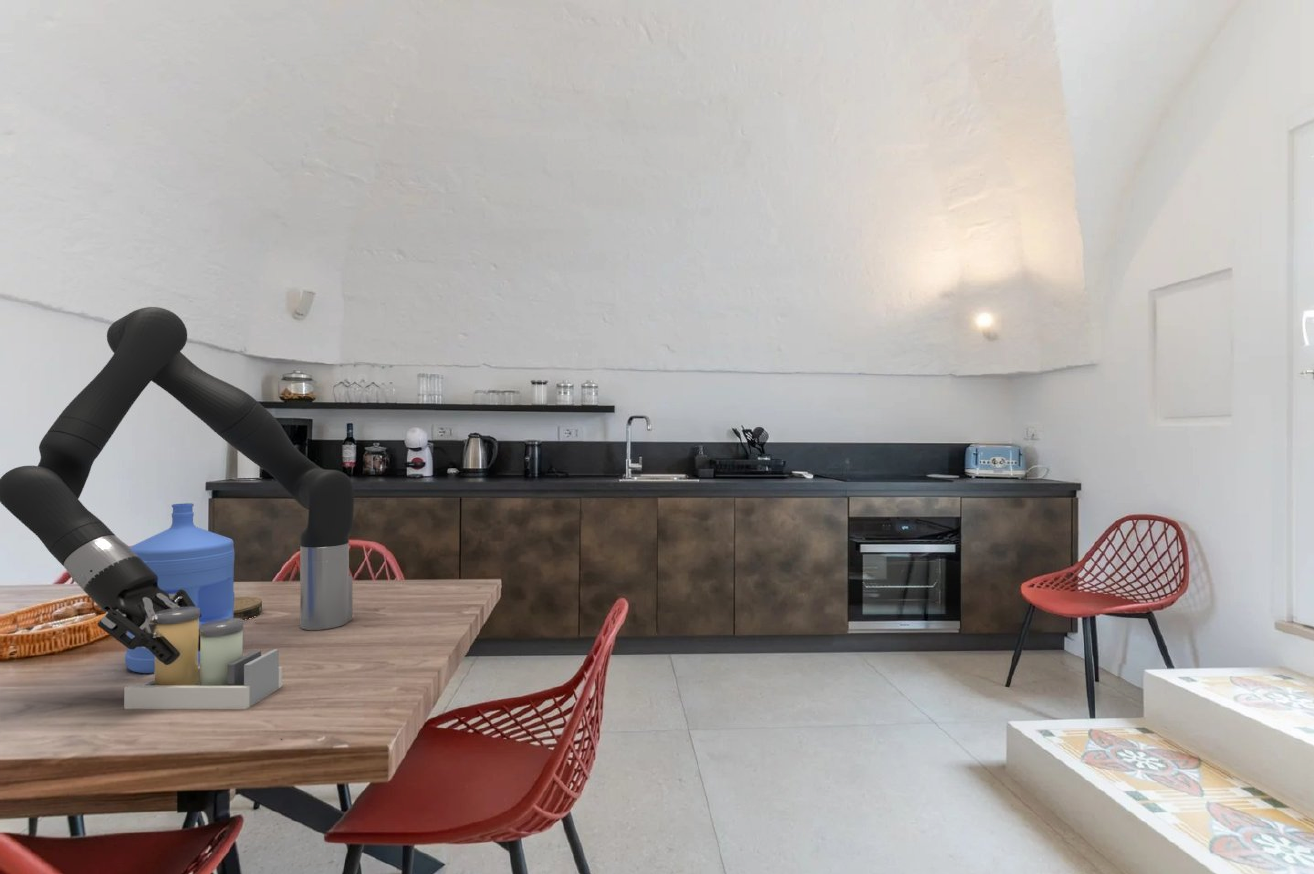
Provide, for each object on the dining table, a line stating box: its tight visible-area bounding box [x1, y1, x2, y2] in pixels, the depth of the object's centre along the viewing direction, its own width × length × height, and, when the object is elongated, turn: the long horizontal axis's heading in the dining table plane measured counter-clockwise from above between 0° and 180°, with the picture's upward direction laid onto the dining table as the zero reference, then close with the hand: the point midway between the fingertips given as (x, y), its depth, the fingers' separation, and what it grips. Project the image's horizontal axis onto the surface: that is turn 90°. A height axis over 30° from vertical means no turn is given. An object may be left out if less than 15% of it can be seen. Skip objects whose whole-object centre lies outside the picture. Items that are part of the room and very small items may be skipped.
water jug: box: [124, 502, 236, 674], centre depth 113 cm, size 16×16×28 cm
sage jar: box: [199, 618, 244, 686], centre depth 94 cm, size 5×5×11 cm
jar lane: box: [123, 648, 283, 710], centre depth 94 cm, size 18×8×7 cm, turn 89°
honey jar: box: [153, 606, 200, 686], centre depth 94 cm, size 5×5×11 cm
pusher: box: [227, 650, 262, 686], centre depth 94 cm, size 2×6×6 cm, turn 179°
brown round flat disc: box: [233, 596, 263, 620], centre depth 140 cm, size 16×16×3 cm
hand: (189, 653), depth 94 cm, fingers closed on honey jar, 5 cm apart
